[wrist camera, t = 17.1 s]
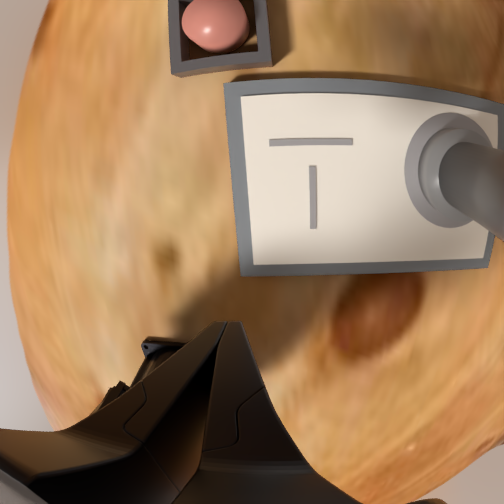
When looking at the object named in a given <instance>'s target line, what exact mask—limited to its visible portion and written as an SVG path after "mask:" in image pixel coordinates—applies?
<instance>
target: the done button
mask: <svg viewBox="0 0 504 504" xmlns="http://www.w3.org/2000/svg"><path fill="white" fill-rule="evenodd" d="M182 27H183V30H184V32H185V34H186V35H187V36H188V37H189V38H190V39H191V40H193V41H194V42H195V43H196V44H198V45H199V46H200V47H201V48H203V49H204V50H206V51H208V52H211V53H216V54H222V53H228V52H231V51H233V50H235V49H237V48H239V47H240V46H241V45H242V44H243V43H244V42H245V41H246V39H247V37H248V35H249V31H250V24H249V21H248V18H247V16H246V13H245V11H244V9H243V6H242V4H241V3H240V2H239V1H238V0H194V1H192V2H191V3H190V4H189V5H188V6H187V8H186V9H185V11H184V13H183V16H182Z"/></svg>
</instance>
